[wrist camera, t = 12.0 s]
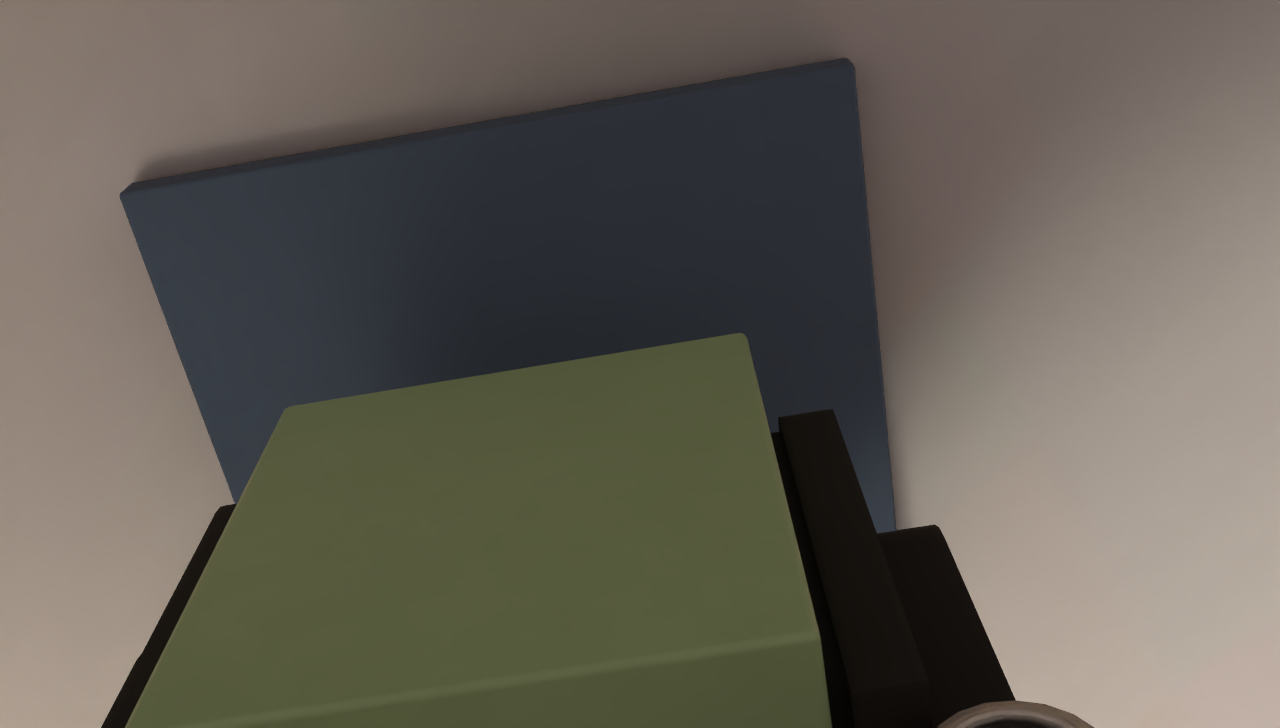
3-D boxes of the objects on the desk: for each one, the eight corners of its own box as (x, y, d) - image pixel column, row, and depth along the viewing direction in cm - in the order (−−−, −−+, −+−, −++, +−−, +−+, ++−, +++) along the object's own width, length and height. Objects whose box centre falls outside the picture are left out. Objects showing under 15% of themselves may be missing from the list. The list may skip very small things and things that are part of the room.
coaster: (331, 726, 17) (324, 747, 17) (129, 183, 13) (117, 194, 13) (902, 638, 17) (908, 658, 16) (848, 57, 13) (855, 63, 13)
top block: (402, 750, 14) (315, 1163, 10) (283, 404, 12) (113, 738, 8) (797, 692, 13) (880, 1090, 9) (745, 329, 11) (821, 635, 7)
